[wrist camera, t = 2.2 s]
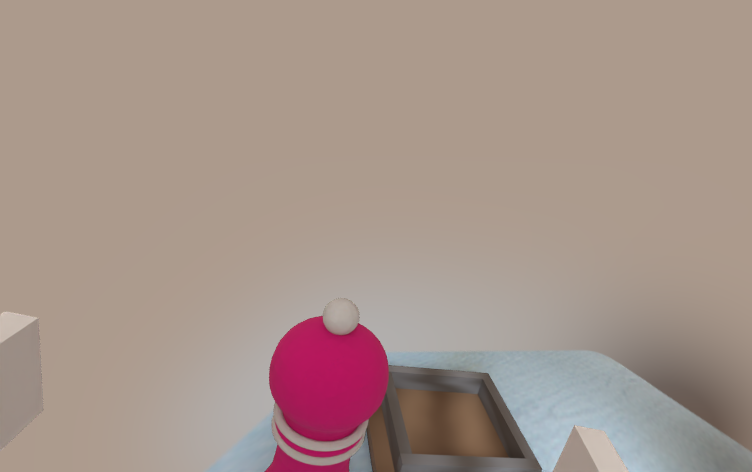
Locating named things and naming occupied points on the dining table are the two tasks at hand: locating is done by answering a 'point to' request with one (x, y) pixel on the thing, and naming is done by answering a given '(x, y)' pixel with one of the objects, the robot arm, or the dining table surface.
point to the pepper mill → (325, 390)
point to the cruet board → (445, 425)
